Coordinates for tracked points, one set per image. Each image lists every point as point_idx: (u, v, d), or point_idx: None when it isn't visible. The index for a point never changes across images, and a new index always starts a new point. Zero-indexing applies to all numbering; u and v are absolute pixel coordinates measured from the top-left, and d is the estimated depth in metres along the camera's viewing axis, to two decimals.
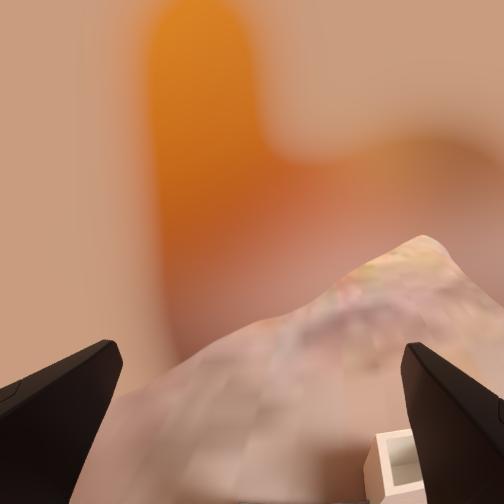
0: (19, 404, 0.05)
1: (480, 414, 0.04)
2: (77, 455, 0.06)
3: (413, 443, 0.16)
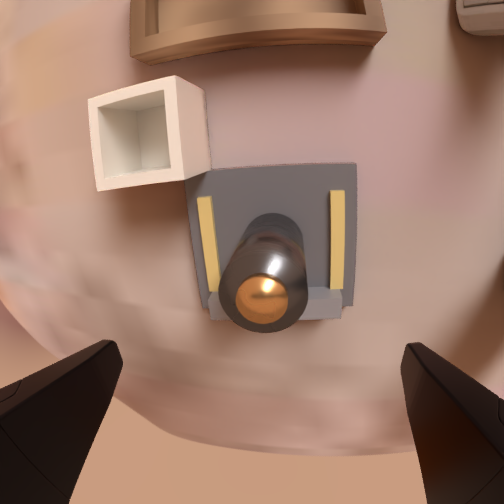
0: (19, 404, 0.05)
1: (480, 414, 0.04)
2: (77, 455, 0.06)
3: (111, 132, 0.14)
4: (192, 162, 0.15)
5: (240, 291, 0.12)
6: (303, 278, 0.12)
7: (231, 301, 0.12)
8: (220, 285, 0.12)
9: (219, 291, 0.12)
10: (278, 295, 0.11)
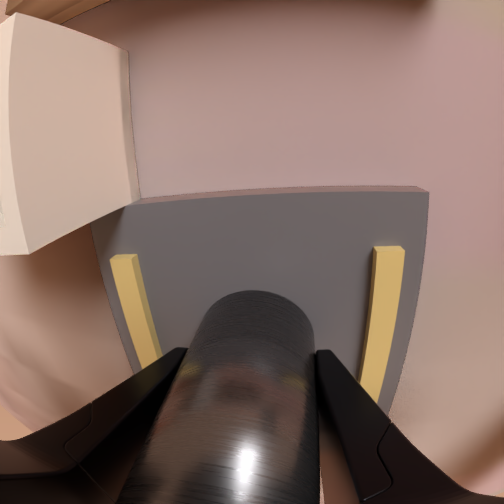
0: (102, 437, 0.04)
1: (361, 438, 0.04)
2: None
3: None
4: (65, 201, 0.06)
5: None
6: None
7: None
8: None
9: None
10: None
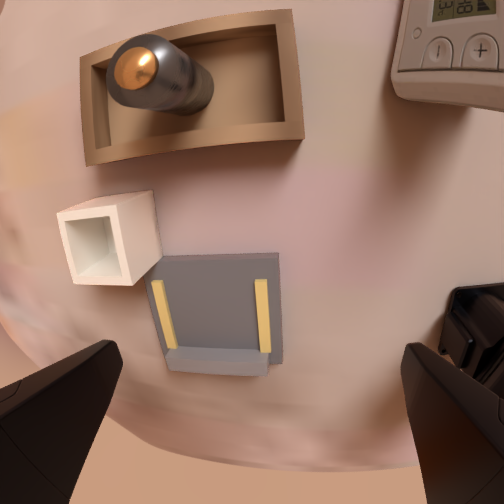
0: (19, 404, 0.05)
1: (480, 414, 0.04)
2: (77, 455, 0.06)
3: (79, 236, 0.18)
4: (140, 266, 0.19)
5: (118, 62, 0.10)
6: (171, 47, 0.11)
7: (114, 81, 0.11)
8: (108, 69, 0.11)
9: (106, 75, 0.11)
10: (146, 58, 0.10)
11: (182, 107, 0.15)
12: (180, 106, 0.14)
